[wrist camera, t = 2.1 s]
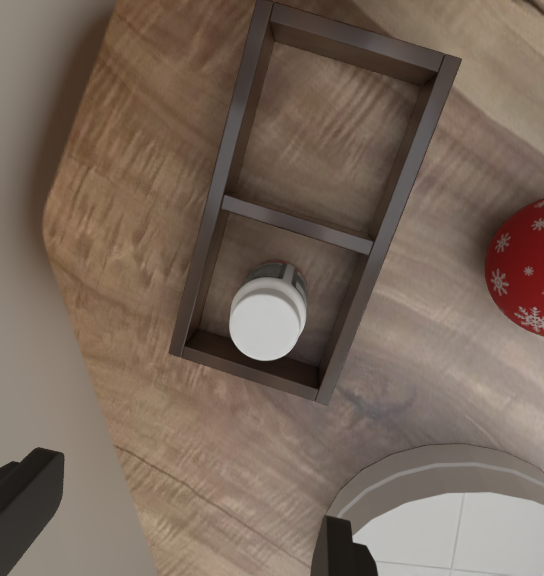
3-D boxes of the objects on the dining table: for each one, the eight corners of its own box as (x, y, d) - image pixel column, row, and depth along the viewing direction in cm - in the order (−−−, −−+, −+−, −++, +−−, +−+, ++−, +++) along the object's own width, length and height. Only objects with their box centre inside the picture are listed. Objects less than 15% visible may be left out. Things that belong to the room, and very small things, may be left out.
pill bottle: (235, 301, 31) (207, 343, 23) (263, 247, 30) (243, 272, 22) (289, 330, 31) (280, 382, 23) (319, 278, 30) (321, 313, 22)
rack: (183, 336, 32) (167, 353, 29) (264, 19, 26) (257, -5, 23) (326, 382, 32) (327, 405, 29) (443, 74, 26) (462, 58, 22)
